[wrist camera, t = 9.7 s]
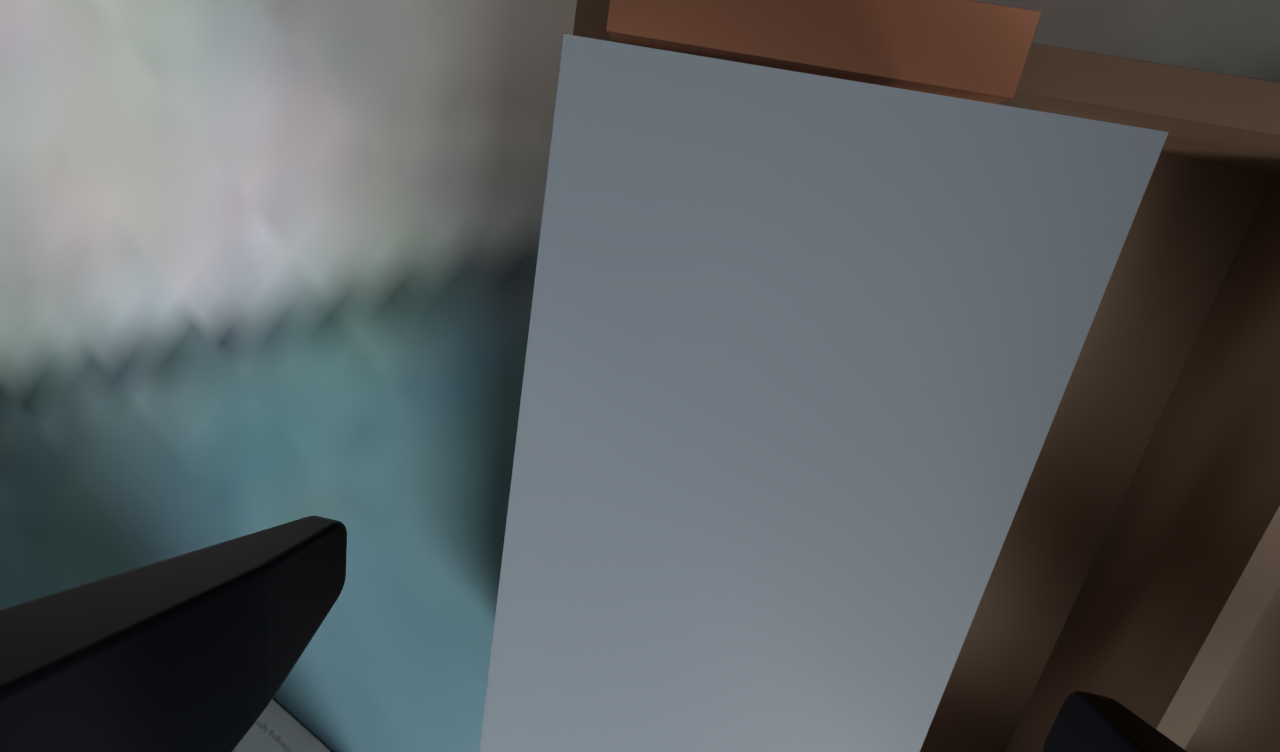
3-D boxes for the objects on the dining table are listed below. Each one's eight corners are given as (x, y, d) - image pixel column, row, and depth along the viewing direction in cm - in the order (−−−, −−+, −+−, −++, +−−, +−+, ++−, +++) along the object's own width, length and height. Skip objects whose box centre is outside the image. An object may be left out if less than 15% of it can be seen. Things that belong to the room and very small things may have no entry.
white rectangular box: (738, 678, 15) (753, 1166, 8) (579, 641, 16) (442, 1075, 8) (876, 169, 12) (1169, 132, 4) (665, 133, 12) (564, 34, 4)
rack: (1242, 838, 16) (1420, 1061, 12) (528, 665, 17) (468, 812, 13) (1665, 192, 11) (2215, 194, 7) (622, 21, 12) (572, -62, 8)
